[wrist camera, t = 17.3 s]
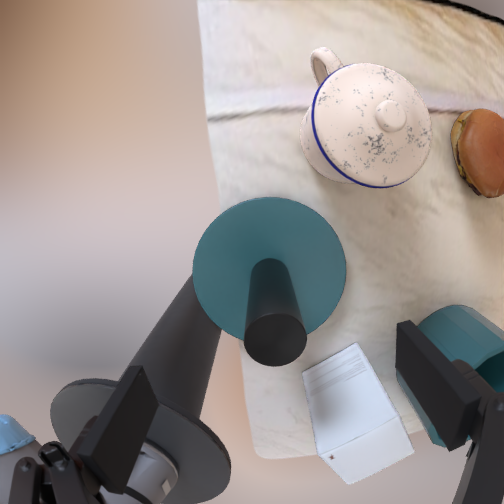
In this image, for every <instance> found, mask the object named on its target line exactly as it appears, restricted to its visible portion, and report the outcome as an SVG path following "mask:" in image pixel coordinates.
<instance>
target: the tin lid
mask: <svg viewBox="0 0 504 504" xmlns="http://www.w3.org/2000/svg"><path fill="white" fill-rule="evenodd" d="M345 279H346V261H345V255H344V251H343V248H342V245H341V243H340V241H339V238H338V236H337V234H336V233H335V232H334V230H333V229H332V227H331V226H330V225H329V224H328V222H327V221H326V220H325V219H324V218H323V217H321V216H320V215H319V214H318V213H317V212H315V211H314V210H312V209H310V208H309V207H307V206H305V205H303V204H301V203H298V202H296V201H292V200H289V199H284V198H277V197H263V198H255V199H251V200H247V201H244V202H242V203H239V204H237V205H235V206H233V207H231V208H229V209H228V210H226V211H225V212H223V213H222V214H221V215H220V216H218V217H217V218H216V219H215V220H214V221H213V222H212V223H211V224H210V226H209V227H208V228H207V229H206V231H205V232H204V234H203V236H202V237H201V239H200V241H199V243H198V246H197V249H196V251H195V256H194V260H193V283H194V288H195V292H196V295H197V298H198V300H199V302H200V304H201V306H202V308H203V309H204V311H205V312H206V314H207V315H208V316H209V317H210V319H211V320H212V321H213V322H214V323H215V324H216V325H217V326H219V327H220V328H221V329H223V330H224V331H225V332H227V333H228V334H230V335H232V336H234V337H236V338H238V339H241V340H244V346H245V349H246V351H247V353H248V354H249V356H250V357H251V358H252V359H254V360H255V361H256V362H258V363H260V364H263V365H266V366H283V365H286V364H289V363H291V362H293V361H294V360H296V359H297V358H298V357H299V356H300V355H301V354H302V352H303V350H304V349H305V346H306V342H307V334H309V333H311V332H312V331H314V330H315V329H317V328H318V327H319V326H320V325H321V324H323V323H324V322H325V321H326V319H327V318H328V317H329V316H330V315H331V313H332V312H333V311H334V309H335V308H336V306H337V304H338V302H339V300H340V298H341V295H342V293H343V289H344V285H345Z"/></svg>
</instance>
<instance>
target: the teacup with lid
mask: <svg viewBox="0 0 504 504" xmlns="http://www.w3.org/2000/svg"><path fill="white" fill-rule="evenodd" d="M311 67H312V71H313V75H314V77H315V80H316V82H317V84H318V86H319V88H318V90H317V92H316V94H315V97H314V100H313V103H312V105H311V106H310V108H309V109H308V111H307V112H306V114H305V116H304V118H303V120H302V124H301V129H300V140H301V146H302V149H303V152H304V154H305V156H306V158H307V160H308V161H309V163H310V164H311V165H312V166H313V168H314V169H315V170H316V171H318V172H319V173H320V174H322V175H323V176H325V177H326V178H328V179H331V180H333V181H336V182H341V183H356V184H360V185H362V186H366V187H371V188H389V187H393V186H397V185H399V184H402V183H404V182H405V181H407V180H409V179H410V178H411V177H413V176H414V175H415V174H416V173H417V172H418V171H419V170H420V168H421V167H422V166H423V164H424V162H425V161H426V159H427V156H428V154H429V151H430V147H431V141H432V125H431V119H430V116H429V112H428V109H427V107H426V105H425V103H424V101H423V99H422V97H421V96H420V94H419V93H418V91H417V90H416V89H415V88H414V87H413V85H412V84H411V83H410V82H409V81H407V80H406V79H405V78H404V77H402V76H401V75H400V74H398V73H396V72H395V71H393V70H391V69H389V68H386V67H383V66H380V65H376V64H370V63H359V64H351V65H347V66H343V64H342V63H341V61H340V60H339V58H338V57H337V56H336V55H335V54H334V53H333V52H332V51H331V50H330V49H328V48H325V47H321V48H318V49H316V50H314V51H313V52H312V54H311ZM326 68H327V69H328V71H329V72H330V75H328V73H327V70H326Z"/></svg>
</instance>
